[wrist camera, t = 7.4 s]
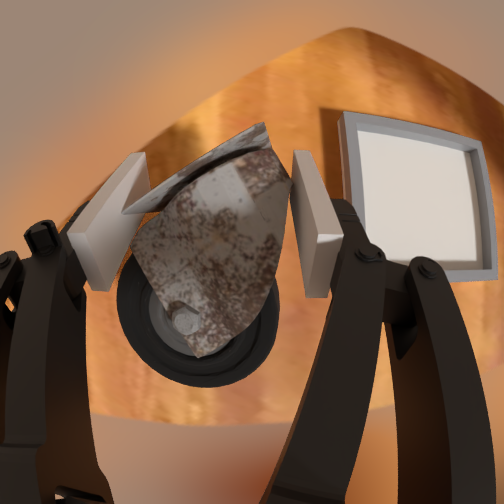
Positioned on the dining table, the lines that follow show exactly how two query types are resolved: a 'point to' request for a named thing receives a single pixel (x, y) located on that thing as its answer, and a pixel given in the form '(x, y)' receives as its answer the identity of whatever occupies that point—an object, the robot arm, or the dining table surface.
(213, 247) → the caster wheel
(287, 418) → the dining table surface
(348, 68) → the dining table surface
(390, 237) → the shallow rectangular tray
